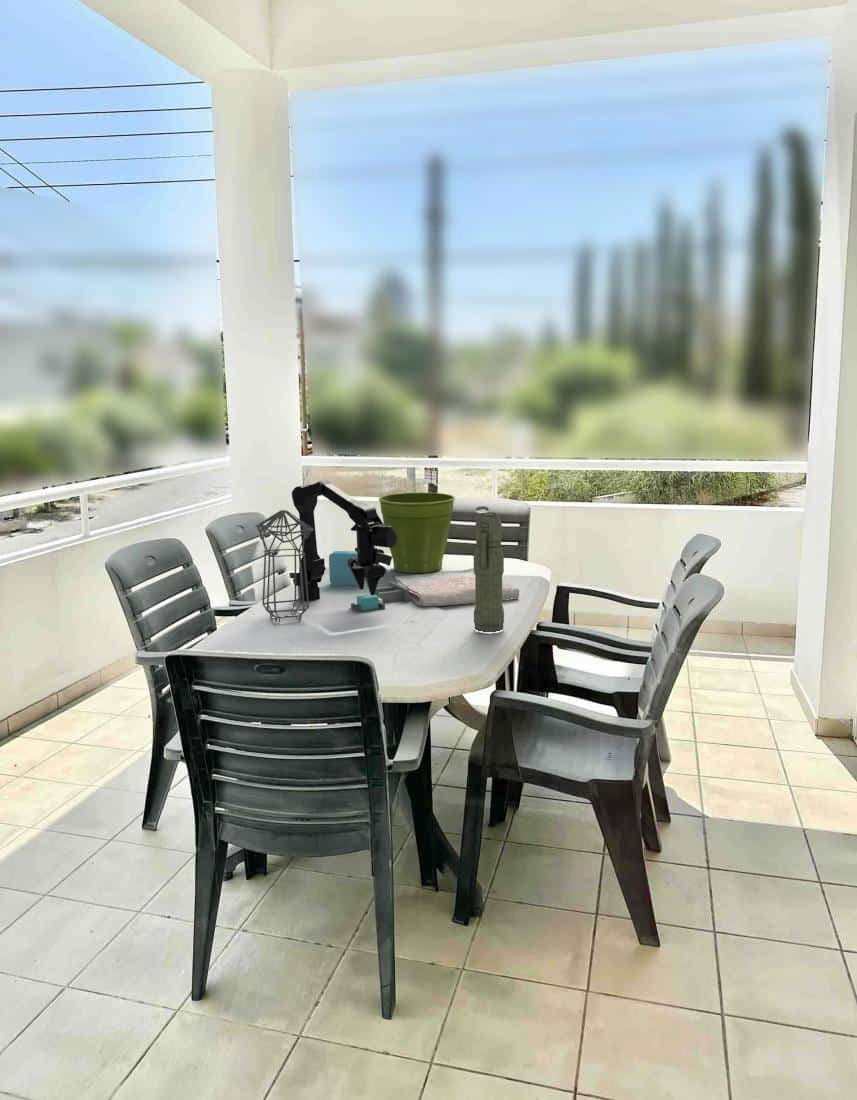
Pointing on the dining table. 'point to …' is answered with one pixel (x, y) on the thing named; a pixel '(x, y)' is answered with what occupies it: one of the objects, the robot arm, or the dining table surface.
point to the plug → (368, 602)
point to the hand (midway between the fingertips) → (367, 592)
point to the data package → (341, 568)
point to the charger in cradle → (359, 609)
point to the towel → (447, 588)
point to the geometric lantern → (271, 520)
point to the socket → (393, 592)
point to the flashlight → (488, 573)
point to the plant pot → (418, 529)
